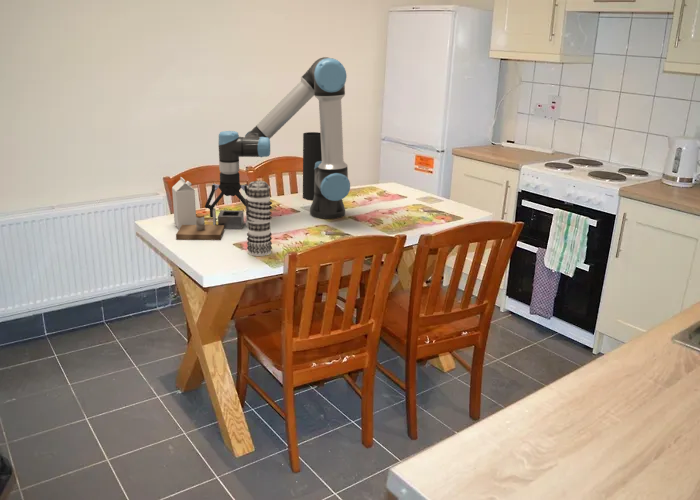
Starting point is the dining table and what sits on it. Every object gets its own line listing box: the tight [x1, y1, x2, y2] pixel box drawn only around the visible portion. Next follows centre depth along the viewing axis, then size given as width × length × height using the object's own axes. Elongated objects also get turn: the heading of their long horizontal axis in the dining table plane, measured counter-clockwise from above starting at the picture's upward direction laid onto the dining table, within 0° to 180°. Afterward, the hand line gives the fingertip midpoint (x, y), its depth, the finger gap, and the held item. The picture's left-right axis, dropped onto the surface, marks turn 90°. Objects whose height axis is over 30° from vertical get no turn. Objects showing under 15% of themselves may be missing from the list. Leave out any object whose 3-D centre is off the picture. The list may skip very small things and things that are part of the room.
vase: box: [302, 131, 322, 201], centre depth 283 cm, size 10×10×30 cm
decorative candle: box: [244, 180, 273, 257], centre depth 209 cm, size 9×9×25 cm
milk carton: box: [171, 176, 197, 230], centre depth 236 cm, size 7×7×19 cm
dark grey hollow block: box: [217, 209, 245, 230], centre depth 241 cm, size 9×9×5 cm
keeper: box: [175, 212, 225, 241], centre depth 228 cm, size 16×12×8 cm
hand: (231, 225), depth 241 cm, fingers open, 12 cm apart
